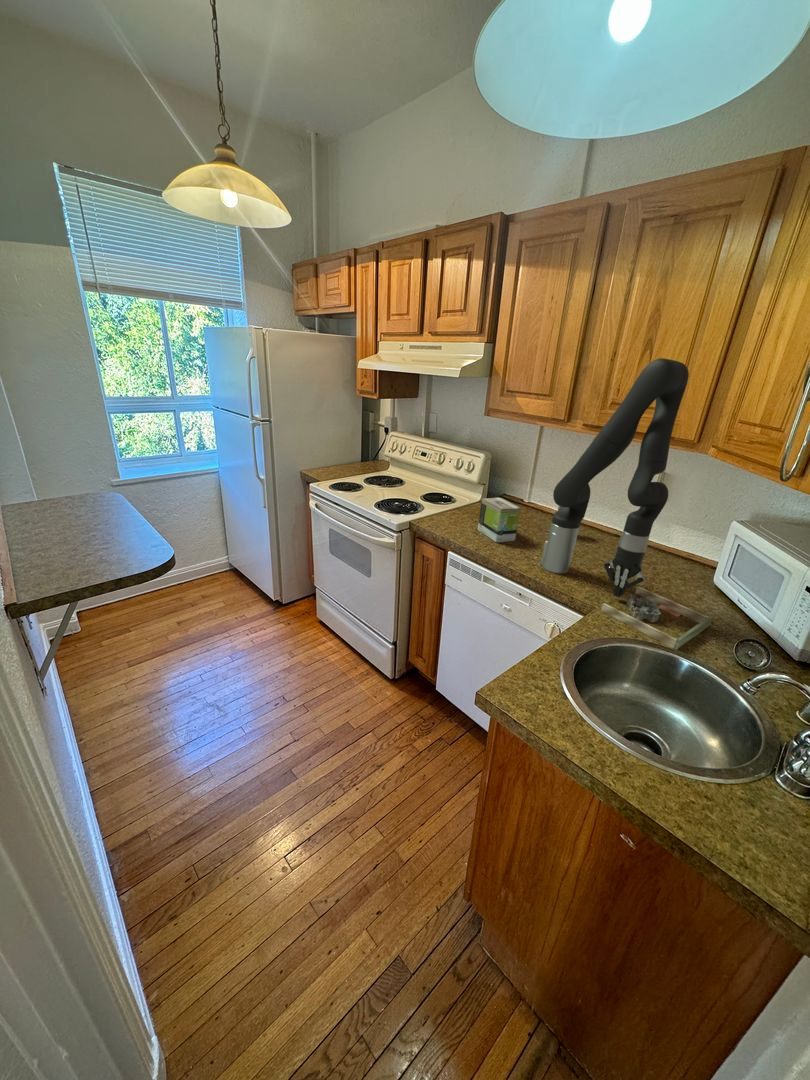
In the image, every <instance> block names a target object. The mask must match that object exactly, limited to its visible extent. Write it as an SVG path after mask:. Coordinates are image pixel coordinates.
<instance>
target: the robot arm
mask: <svg viewBox="0 0 810 1080" xmlns="http://www.w3.org/2000/svg"><path fill="white" fill-rule="evenodd" d="M689 371H690V370H688V367H687V365H686V364H684V362H682V361H679V360H678V361H677V360H674V359H669V358H663V357H662V358H656V359H654V360H652V361H650V362H649V363H648V364H647V365H646V366H645V367H644V368H643V369H642V370H641V372H640V373H639V375H638V376H637V378H636V380H635V381H634V383H633V384H632V386H631V388H630V389H629V391H628V393H627V394H626V395H625V397H624V399H623V400H622V402H621V403H620V404H619V406H617V408H616V410H615V411H614V412H613V414H612V415H611V417H610V418H609V419H608V421H607V422H606V423H605V424H604V426H602V428H601V429H600V431H599V432H598V433H597V434H596V436H595V437H594V438H593V440H592V441H591V443H590V444H589V446H588V447H587V448H586V449H585V450H584V452H583V453H582V455H581V456H580V457H579V459H578V460H577V462H576V463H575V464H574V465H573V466H572V468H571V469H570V470H569V471H568V472H567V473H566V474H565V475H564V476H563V477H562V478H561V480H559V482H558V483H557V484H556V485H555V487H554V489H553V494H552V495H553V497H552V498H553V501H554V503H555V504H556V505H557V506H558V507H559V506H561V507H560V509H559V510H558V509H557V511H556V512H554V514H553V515H552V520H551V523H550V527H549V528H550V529H549V533H548V538H547V540H545V541H544V546H543V549H542V555H541V560H540V565H539V566H542V568H543V569H545V570H546V571H549V572H550V573H553V574H568V573H569V570H570V568H571V567H570V566H571V563H572V559H573V554H574V550H575V546H576V542H577V539H578V534H579V529H580V525H581V523H582V522H583V519H584V518H585V515H586V513H587V512H586V511H587V509H588V505H589V501H590V497H591V487H590V482H591V481H592V480H593V479H594V478H595V477H596V476H597V475H599V474H600V473H601V472H602V471H604V470H607V468H608V467H609V466H611V465H612V464H614V463H615V462H616V460H617V459H618V458H620V456H622V454H623V453H624V452H625V450H626V449H628V447H629V446H630V444H631V443H632V441H633V440H634V438H635V436H636V433H637V430H638V426H639V425H640V424H639V423H640V421H641V419H642V417H643V415H644V414H645V412H646V411H647V410H648V409H649V407H650V406H651V405H652V404H653V403H654V402H655V406H654V407H655V408H654V411H653V416H652V417H651V418H652V419H651V421H650V424H649V425H648V427H647V429H646V431H645V433H644V435H643V438H642V440H641V444H640V449H639V455H638V463H637V467H636V470H635V472H634V474H633V476H632V479H631V480H630V483H629V485H628V489H627V498H628V499H627V500H628V501H629V503H630V504H631V506H634V507H639V508H638V509H637V510H635V511H632V512H630V513H629V514H628V515H627V517H626V519H625V520H626V521H625V524H624V527H623V530H622V533H621V535H620V538H619V541H618V545H617V548H616V552H615V555H614V558H613V559H612V561H608V562H605V563H604V564H603V566H604V568H605V571H606V573H607V577H608V579H609V580H610V581H611V582H612V583H614V586H613V590H612V594H613V596H614V597H616V598H620V597H622V596H624V594H625V592H626V589H631V588H632V587H635V586H637V585H638V584H641V583H642V582H644V581H647V576H645V575H643V574H642V567H641V566H642V563H643V561H644V557H645V555H646V552H647V548H648V545H649V540H650V535H651V532H652V529H653V526H654V525H653V524H654V523H655V521H656V520H657V518H658V517H659V515H660V514H661V512H662V510H663V509H664V508H665V506H666V504H667V501H668V499H669V489H668V487H667V485H666V484H665V483H663V482H660V481H653V480H654V477H655V476H656V475H658V474H661V473H664V472H665V471H666V468H667V464H668V456H669V451H670V445H671V439H672V434H673V432H674V431H673V430H674V427H675V423H676V420H677V416H678V412H679V409H680V406H681V403H682V399H683V398H684V397H683V396H684V394H685V391H686V388H687V385H688V381H689V377H690V373H689ZM635 576H636V577H635ZM633 577H635V579H634V580H633V581H631V578H633ZM630 581H631V582H630Z"/></svg>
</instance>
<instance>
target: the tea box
mask: <svg viewBox="0 0 810 1080" xmlns="http://www.w3.org/2000/svg"><path fill="white" fill-rule="evenodd" d="M521 510H522V509H521V507H520V506H518V505H516V504H514V503H512V502H510V501H508V500H507V499H504V498H502V497H488V498H487V497H486V498H481V504H480V512H479V516H478V525H477V530H478V531H479V532H480V533H482V534H483V535H484V536H486V537H488V538H489V539H490V540H492V541H493V542H494V543H508V542H514V541H515V540H516V537H517V531H518V527H519V520H520V514H521Z"/></svg>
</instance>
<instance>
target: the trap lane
mask: <svg viewBox="0 0 810 1080" xmlns="http://www.w3.org/2000/svg"><path fill="white" fill-rule="evenodd" d="M634 595H636V596H640V597H642V598H643V599H646V598H647V599H652V600H655V602H656V605H659V606H658V608H659V610H661V611H663V612H666V613H667V614H670V615H672V616H674V617H677V618H679V617H681V616H684V617H686V618H688V619H690V620H692V621H695V622H697V623H698V624H696V625H694V626H693V627H692V628H691V629H688V630H687V631H686V632H685V633H684V634H682V635H680V636H679V637H677V638H675V637H673V636H671V635H669V634H668V633H665V632H663V631H661V630H659V629H657V628H655V627H654V626H651V625H649V624H647V623H645V622H643V621H641V620H638V619H637V618H634V617H633V616H632V615H629V614H627V613H626V612H623V611H621V610H620V609H617V608H615V607H612V606H611V605H609V604H607V603H605V602H604V603H602V605H601V609H600V612H602V613H604V614H606V615H607V616H610V617H612V618H614V619H615V620H618V621H619V622H621V623H623V624H626V625H627V626H630V627H631V628H633V629H635V630H637V631H639V632H641V633H643V634H645V635H647V636H649V637H651V638H652V639H655V640H657V641H659V643H663V644H665V645H666V646H669V647H670V648H672V649H675V650H676V651H677V650H679V648H682V647H683V646H684V645H685V644H687V643H688V642H689V641H691V640H692V639H693V638H695V637H696V636H697V635H699V634H700V633H701V632H703V631H704V630H705V629H707V628H708V627H710V626H711V623H712V621H713V616H711V615H709V616H708V615H705V614H703V613H701V612H698V611H696V610H693V609H691V608H689V607H687V606H684V605H682V604H679V603H677V602H675V601H673V600H671V599H668V598H666V597H664V596H661V595H660V594H658V593H657V594H656V593H655V592H652V591H649V590H648V589H645V588H643V587H641V586H637V587H636V590H635V592H634Z"/></svg>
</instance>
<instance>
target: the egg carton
mask: <svg viewBox="0 0 810 1080" xmlns="http://www.w3.org/2000/svg"><path fill="white" fill-rule="evenodd" d="M629 595H630V597H629V598H628V599H627V604H626V606H628V607H629V611H630V612H631V613H632V615H631V617H633V618H635V619H637V620H639V621H641V622H643V620H646V619H647V621H649V622H650V623H653V622H654V623H655V622H658V620H659V618H660V615H662V612H661V611H660V610H661V609H659V608H658V607H659V606H658V604H657V603H656V602H655V600H652V599H647V598H644V597H642V596H640V598H637V594H633V593H632V592H629ZM634 605H635V606H634Z"/></svg>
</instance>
